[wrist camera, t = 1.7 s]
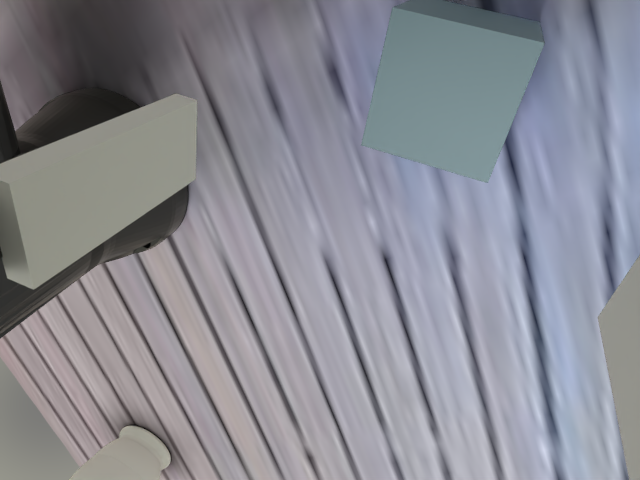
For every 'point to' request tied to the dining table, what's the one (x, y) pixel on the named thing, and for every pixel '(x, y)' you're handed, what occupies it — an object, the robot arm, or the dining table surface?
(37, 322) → the dining table surface
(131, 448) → the jar
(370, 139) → the slate block
